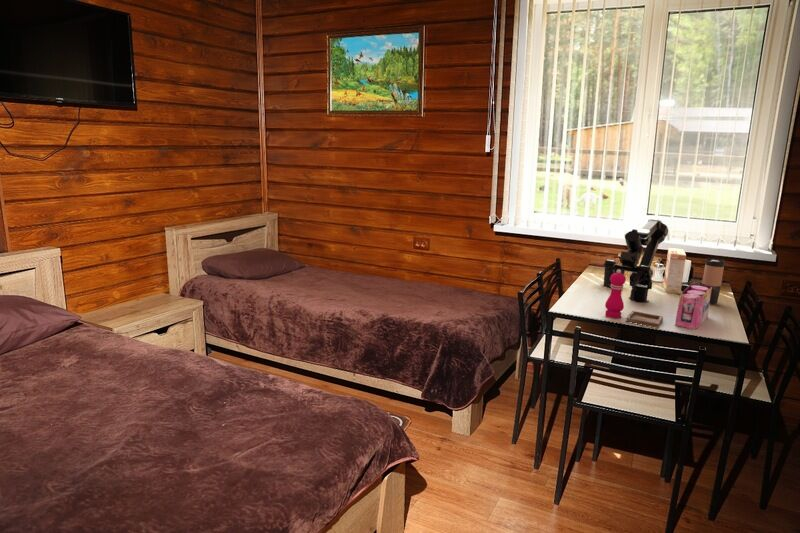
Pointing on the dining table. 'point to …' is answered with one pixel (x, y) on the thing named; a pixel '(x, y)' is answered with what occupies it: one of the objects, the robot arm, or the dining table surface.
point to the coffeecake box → (674, 270)
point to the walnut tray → (644, 319)
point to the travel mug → (713, 277)
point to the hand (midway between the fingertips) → (621, 285)
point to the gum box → (693, 306)
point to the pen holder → (607, 276)
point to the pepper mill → (615, 296)
